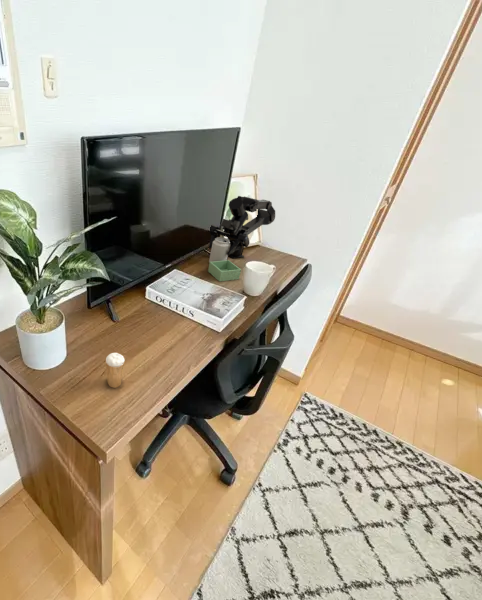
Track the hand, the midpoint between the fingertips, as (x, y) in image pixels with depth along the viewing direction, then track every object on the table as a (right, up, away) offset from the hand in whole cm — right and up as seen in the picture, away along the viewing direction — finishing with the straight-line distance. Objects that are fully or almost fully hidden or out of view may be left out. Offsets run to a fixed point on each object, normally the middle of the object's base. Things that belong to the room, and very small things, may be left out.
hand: (218, 251), depth 140 cm
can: (+1, -5, +4) cm, 7 cm away
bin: (+1, -11, -4) cm, 12 cm away
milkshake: (-43, -43, -59) cm, 85 cm away
